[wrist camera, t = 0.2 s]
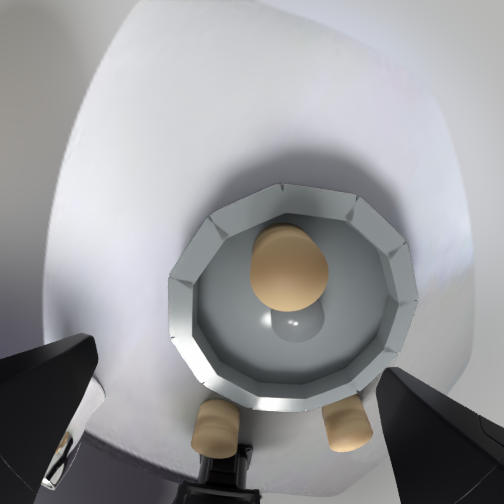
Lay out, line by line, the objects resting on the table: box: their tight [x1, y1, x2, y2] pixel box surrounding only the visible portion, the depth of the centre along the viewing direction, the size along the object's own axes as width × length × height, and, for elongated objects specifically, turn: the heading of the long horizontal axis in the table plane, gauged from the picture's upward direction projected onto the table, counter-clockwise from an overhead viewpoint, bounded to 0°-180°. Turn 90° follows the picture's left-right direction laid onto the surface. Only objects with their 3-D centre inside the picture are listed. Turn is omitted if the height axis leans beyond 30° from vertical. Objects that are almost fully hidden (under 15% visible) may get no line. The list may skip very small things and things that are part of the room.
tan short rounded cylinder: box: [250, 222, 329, 312], centre depth 18 cm, size 4×4×5 cm
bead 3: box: [322, 394, 373, 452], centre depth 23 cm, size 4×4×5 cm
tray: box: [168, 183, 418, 412], centre depth 21 cm, size 19×19×3 cm
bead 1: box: [191, 399, 240, 459], centre depth 24 cm, size 4×4×5 cm
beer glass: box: [41, 376, 105, 490], centre depth 19 cm, size 7×7×15 cm
